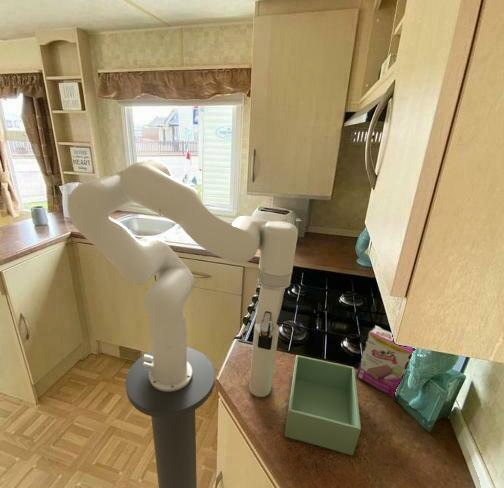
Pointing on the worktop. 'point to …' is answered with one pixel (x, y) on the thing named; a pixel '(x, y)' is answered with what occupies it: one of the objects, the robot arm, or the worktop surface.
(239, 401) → the worktop surface
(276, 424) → the worktop surface
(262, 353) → the paper towel roll
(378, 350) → the candy bar box
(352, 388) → the bin
